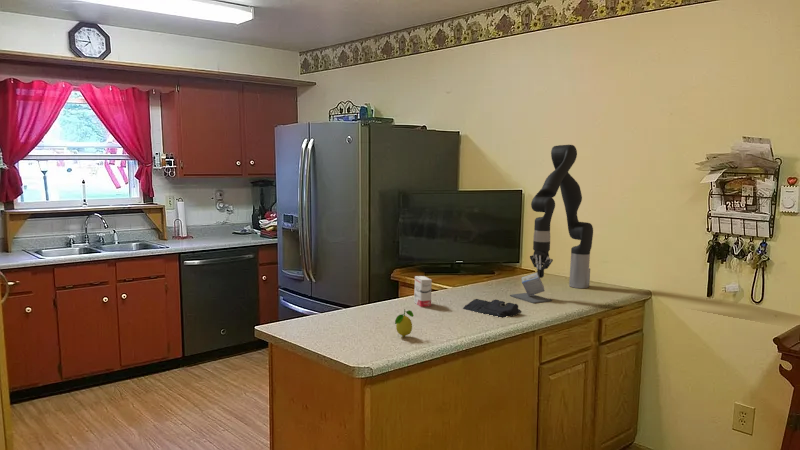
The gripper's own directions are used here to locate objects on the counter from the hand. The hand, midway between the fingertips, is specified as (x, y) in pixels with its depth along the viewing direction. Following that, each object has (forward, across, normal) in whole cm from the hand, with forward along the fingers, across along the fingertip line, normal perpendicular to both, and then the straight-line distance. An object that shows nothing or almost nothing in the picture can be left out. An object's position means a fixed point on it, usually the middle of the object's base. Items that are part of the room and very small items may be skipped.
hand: (540, 277), depth 266 cm
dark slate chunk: (+10, -9, +36) cm, 38 cm away
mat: (+10, +1, +5) cm, 11 cm away
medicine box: (+7, +1, +1) cm, 7 cm away
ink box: (+9, +12, +57) cm, 59 cm away
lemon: (+9, -25, +88) cm, 92 cm away
